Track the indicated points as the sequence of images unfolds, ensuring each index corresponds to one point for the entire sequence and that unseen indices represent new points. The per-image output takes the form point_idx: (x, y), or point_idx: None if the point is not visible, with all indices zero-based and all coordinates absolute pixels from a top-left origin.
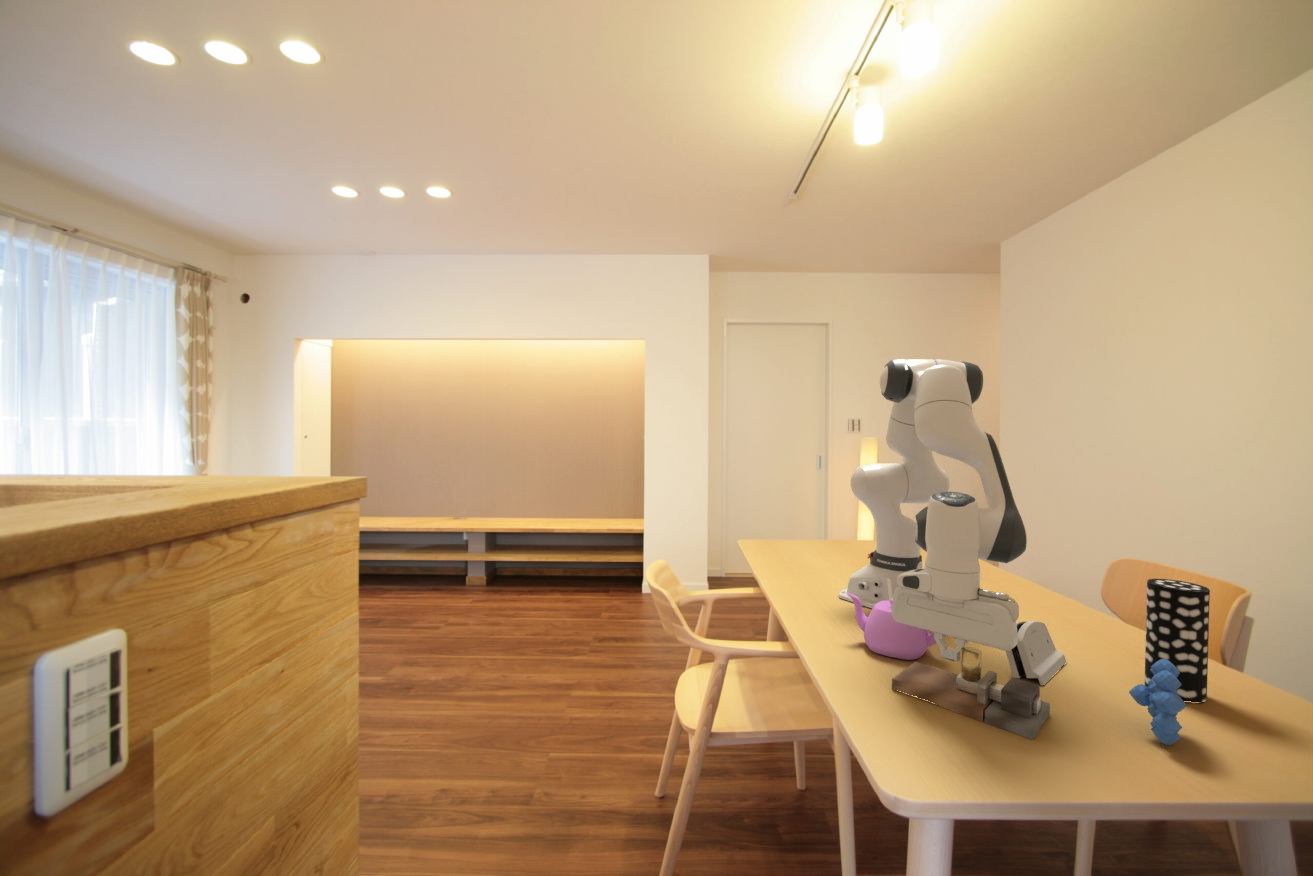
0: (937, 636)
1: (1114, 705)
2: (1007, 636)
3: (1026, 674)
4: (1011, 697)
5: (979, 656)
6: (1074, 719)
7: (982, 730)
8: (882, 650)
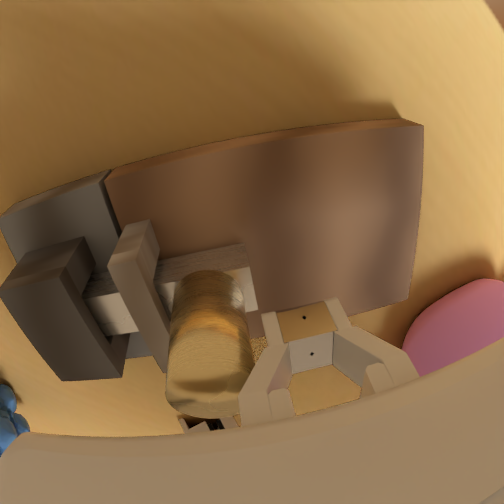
0: (394, 368)
1: (92, 426)
2: (2, 497)
3: (207, 427)
4: (39, 271)
5: (166, 382)
6: None
7: (87, 119)
8: (476, 286)
